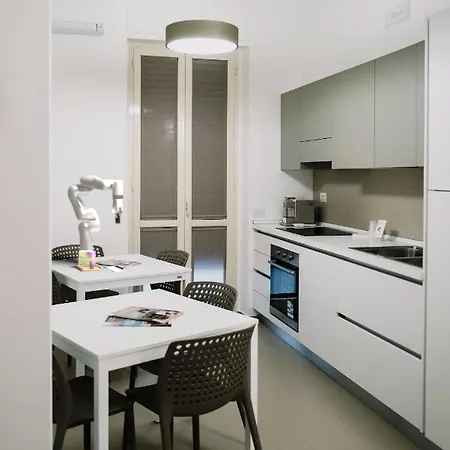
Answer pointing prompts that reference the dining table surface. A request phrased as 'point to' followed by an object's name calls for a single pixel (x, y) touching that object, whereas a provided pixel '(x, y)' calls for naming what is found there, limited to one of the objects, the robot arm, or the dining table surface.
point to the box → (86, 257)
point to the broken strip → (114, 269)
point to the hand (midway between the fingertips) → (117, 223)
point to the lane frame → (89, 267)
